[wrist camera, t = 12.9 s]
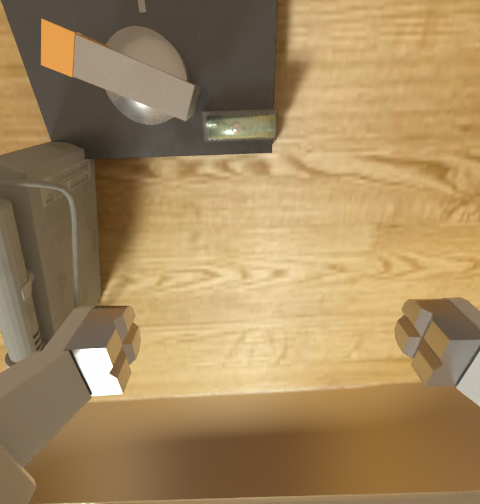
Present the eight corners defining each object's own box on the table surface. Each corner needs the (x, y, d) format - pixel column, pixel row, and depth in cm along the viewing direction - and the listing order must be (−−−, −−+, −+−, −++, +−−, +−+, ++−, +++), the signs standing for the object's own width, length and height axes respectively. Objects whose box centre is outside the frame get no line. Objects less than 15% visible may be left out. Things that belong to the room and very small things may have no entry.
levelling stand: (276, -14, 21) (288, -41, 17) (271, 148, 27) (279, 159, 23) (13, -9, 21) (-43, -36, 16) (69, 156, 27) (39, 168, 22)
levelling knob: (211, 60, 22) (204, 45, 15) (191, 136, 24) (177, 153, 17) (106, 12, 20) (42, -31, 13) (97, 99, 23) (40, 103, 16)
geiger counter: (-101, 165, 14) (4, 422, 26) (32, 189, 15) (73, 426, 27) (51, 132, 26) (74, 319, 38) (119, 146, 27) (120, 324, 39)
